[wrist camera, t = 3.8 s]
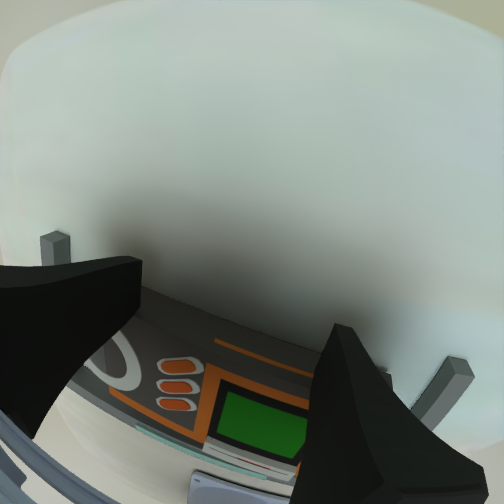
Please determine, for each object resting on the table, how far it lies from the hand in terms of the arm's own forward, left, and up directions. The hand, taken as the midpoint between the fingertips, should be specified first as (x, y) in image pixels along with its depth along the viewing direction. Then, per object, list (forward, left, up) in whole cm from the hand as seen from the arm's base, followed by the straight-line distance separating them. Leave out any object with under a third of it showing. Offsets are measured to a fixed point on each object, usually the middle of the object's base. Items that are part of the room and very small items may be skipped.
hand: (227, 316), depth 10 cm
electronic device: (-4, 0, -2) cm, 5 cm away
